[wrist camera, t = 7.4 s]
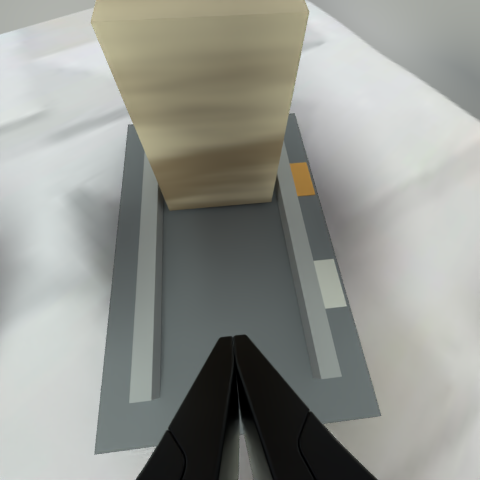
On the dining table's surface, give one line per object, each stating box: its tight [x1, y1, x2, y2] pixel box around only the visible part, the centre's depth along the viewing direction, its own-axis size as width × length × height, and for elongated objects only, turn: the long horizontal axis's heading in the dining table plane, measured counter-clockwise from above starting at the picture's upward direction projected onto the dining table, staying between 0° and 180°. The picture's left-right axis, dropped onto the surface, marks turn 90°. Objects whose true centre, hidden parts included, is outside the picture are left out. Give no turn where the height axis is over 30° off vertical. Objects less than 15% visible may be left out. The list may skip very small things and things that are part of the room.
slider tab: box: [91, 0, 309, 211], centre depth 14 cm, size 4×7×11 cm, turn 96°
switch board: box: [94, 113, 381, 455], centre depth 18 cm, size 22×14×3 cm, turn 6°
